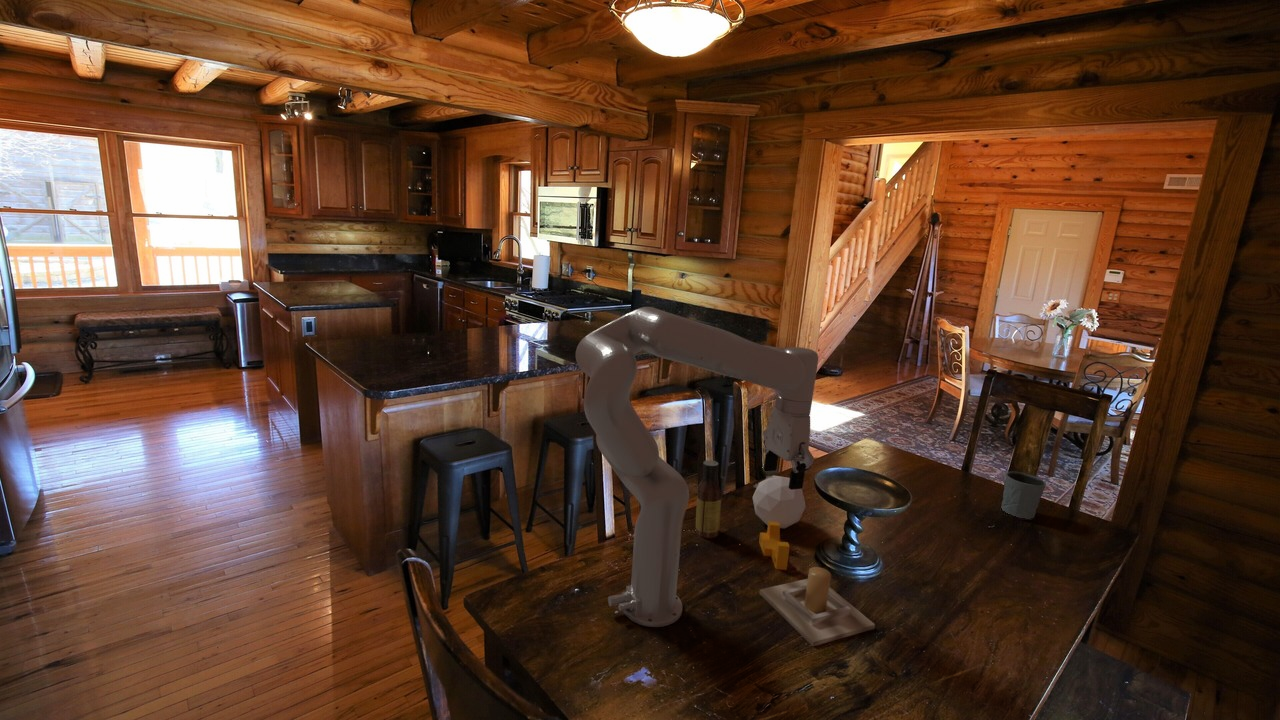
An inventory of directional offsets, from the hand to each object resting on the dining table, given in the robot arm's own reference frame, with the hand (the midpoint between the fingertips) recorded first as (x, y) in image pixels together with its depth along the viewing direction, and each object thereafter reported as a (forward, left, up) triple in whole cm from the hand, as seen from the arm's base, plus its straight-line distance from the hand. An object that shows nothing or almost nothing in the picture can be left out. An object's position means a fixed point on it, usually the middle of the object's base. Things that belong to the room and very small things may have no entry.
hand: (782, 479), depth 131 cm
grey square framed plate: (+3, -12, -26) cm, 28 cm away
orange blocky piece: (+7, +9, -26) cm, 28 cm away
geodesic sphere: (+18, +23, -26) cm, 39 cm away
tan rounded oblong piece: (+3, -12, -25) cm, 27 cm away
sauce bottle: (-3, +24, -26) cm, 35 cm away
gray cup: (+95, +5, -26) cm, 99 cm away
